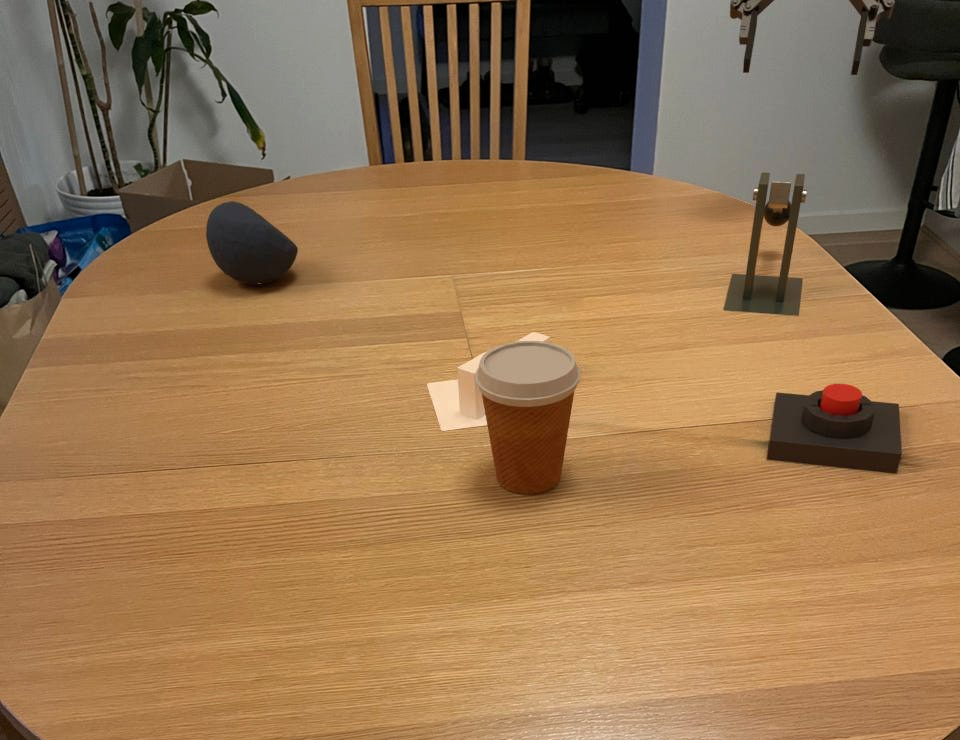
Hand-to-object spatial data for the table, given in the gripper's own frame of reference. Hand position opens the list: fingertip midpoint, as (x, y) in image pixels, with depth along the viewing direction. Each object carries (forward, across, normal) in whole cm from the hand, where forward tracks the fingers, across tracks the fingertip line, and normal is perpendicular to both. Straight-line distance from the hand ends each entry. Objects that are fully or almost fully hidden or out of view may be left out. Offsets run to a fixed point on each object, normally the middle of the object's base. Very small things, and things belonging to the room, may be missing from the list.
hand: (800, 67), depth 124 cm
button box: (+55, -9, +25) cm, 61 cm away
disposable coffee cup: (+64, +19, +34) cm, 75 cm away
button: (+53, -9, +27) cm, 60 cm away
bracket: (+32, 0, +2) cm, 32 cm away
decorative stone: (+36, +68, +5) cm, 77 cm away
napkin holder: (+54, +26, +23) cm, 64 cm away
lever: (+22, 0, +3) cm, 22 cm away
